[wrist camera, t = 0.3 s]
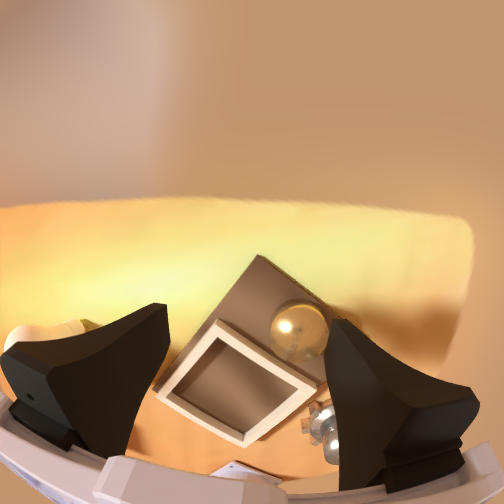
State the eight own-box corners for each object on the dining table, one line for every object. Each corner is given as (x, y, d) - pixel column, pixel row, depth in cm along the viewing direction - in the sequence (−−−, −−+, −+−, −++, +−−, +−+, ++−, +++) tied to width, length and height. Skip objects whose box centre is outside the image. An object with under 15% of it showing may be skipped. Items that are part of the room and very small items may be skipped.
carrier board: (246, 442, 25) (246, 445, 24) (153, 386, 24) (151, 389, 24) (364, 336, 22) (366, 338, 21) (257, 254, 21) (257, 255, 21)
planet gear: (334, 445, 24) (342, 480, 19) (285, 423, 24) (287, 462, 19) (384, 405, 23) (400, 438, 18) (338, 378, 23) (351, 415, 17)
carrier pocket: (245, 440, 24) (244, 448, 23) (159, 389, 24) (155, 396, 23) (315, 382, 22) (317, 390, 21) (217, 318, 22) (214, 323, 21)
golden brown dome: (299, 356, 22) (302, 371, 20) (258, 328, 22) (257, 342, 19) (334, 318, 21) (341, 331, 19) (293, 288, 21) (296, 298, 19)
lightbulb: (111, 351, 24) (49, 411, 13) (73, 351, 25) (13, 399, 14) (91, 295, 23) (13, 340, 12) (54, 301, 24) (-16, 338, 13)
